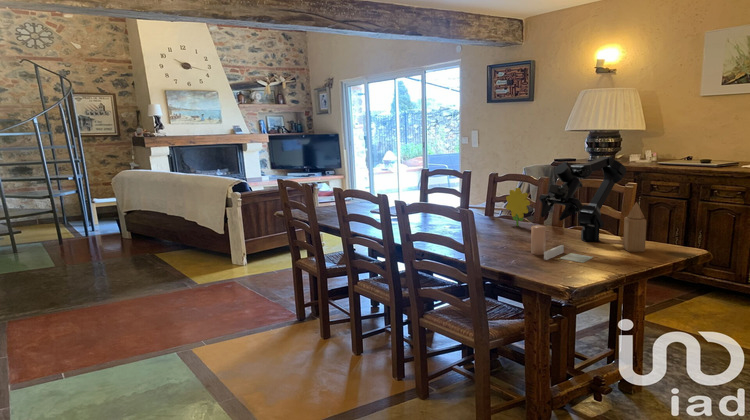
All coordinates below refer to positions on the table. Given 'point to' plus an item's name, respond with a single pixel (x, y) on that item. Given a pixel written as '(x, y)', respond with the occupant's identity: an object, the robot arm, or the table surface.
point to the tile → (576, 257)
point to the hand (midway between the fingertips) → (550, 218)
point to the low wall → (553, 252)
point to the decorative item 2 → (634, 230)
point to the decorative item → (517, 204)
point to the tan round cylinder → (538, 239)
